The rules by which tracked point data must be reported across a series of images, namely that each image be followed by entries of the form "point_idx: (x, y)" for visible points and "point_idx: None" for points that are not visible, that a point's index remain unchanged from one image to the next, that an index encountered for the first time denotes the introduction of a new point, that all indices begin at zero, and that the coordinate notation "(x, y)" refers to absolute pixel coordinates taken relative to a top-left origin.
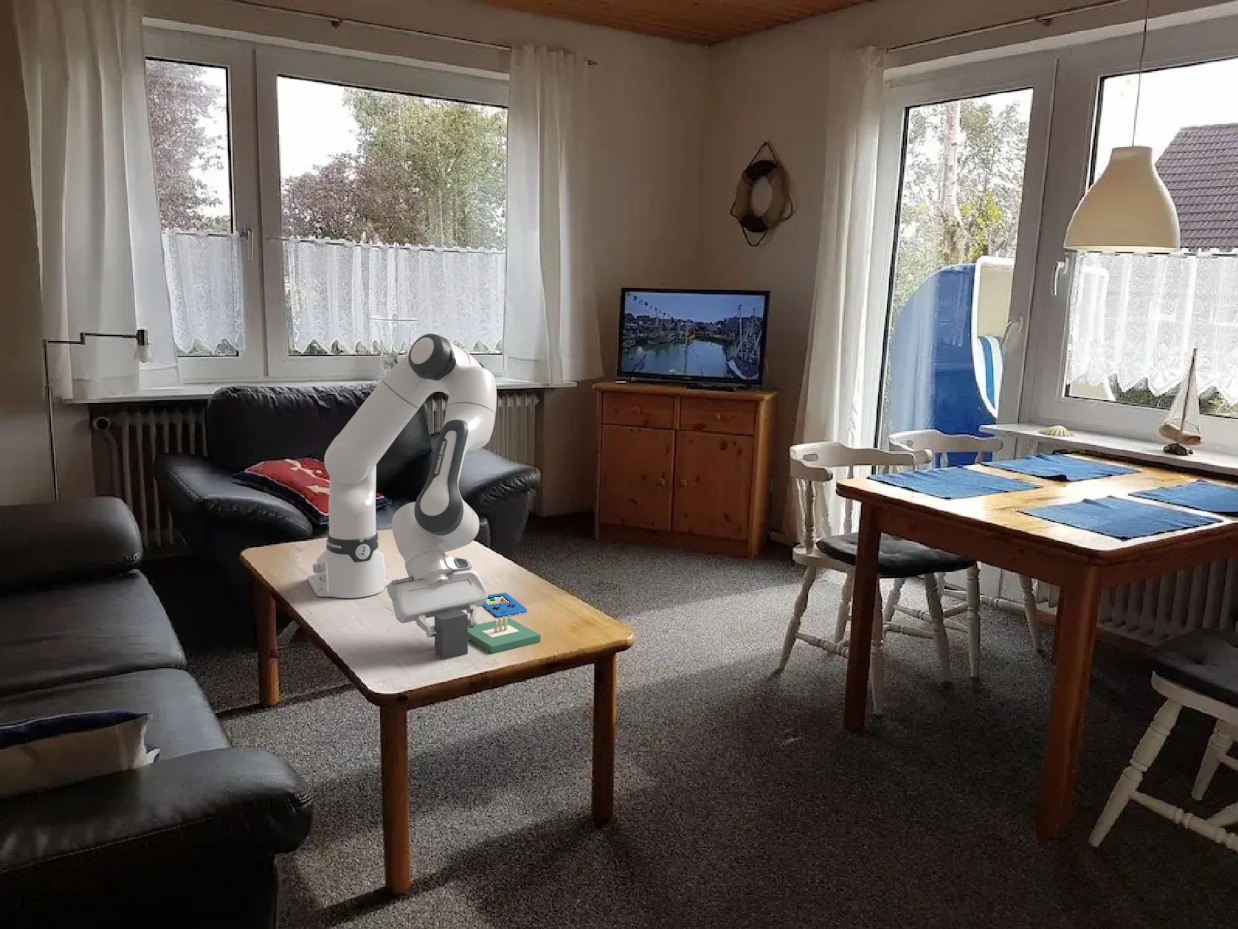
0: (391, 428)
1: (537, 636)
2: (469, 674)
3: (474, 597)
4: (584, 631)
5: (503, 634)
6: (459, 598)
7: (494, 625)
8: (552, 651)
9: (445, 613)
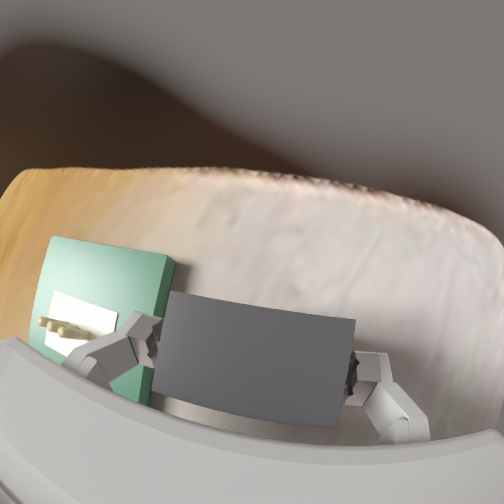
0: None
1: (57, 237)
2: (322, 188)
3: (35, 369)
4: (10, 228)
5: (86, 304)
6: (98, 424)
7: (75, 335)
8: (91, 182)
9: (260, 408)
